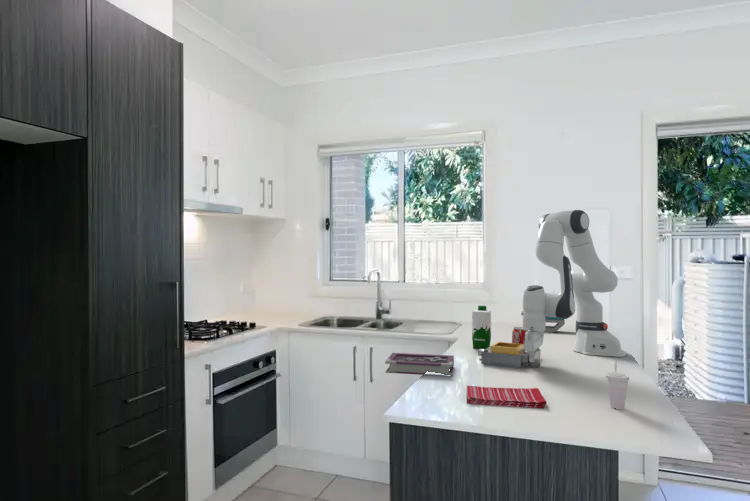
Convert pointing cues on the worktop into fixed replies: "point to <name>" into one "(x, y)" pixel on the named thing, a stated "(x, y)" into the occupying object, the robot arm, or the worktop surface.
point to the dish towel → (505, 397)
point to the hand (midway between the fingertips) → (533, 359)
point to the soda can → (518, 335)
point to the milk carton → (481, 328)
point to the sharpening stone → (548, 319)
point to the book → (419, 363)
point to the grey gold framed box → (504, 355)
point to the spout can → (537, 359)
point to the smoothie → (617, 388)
